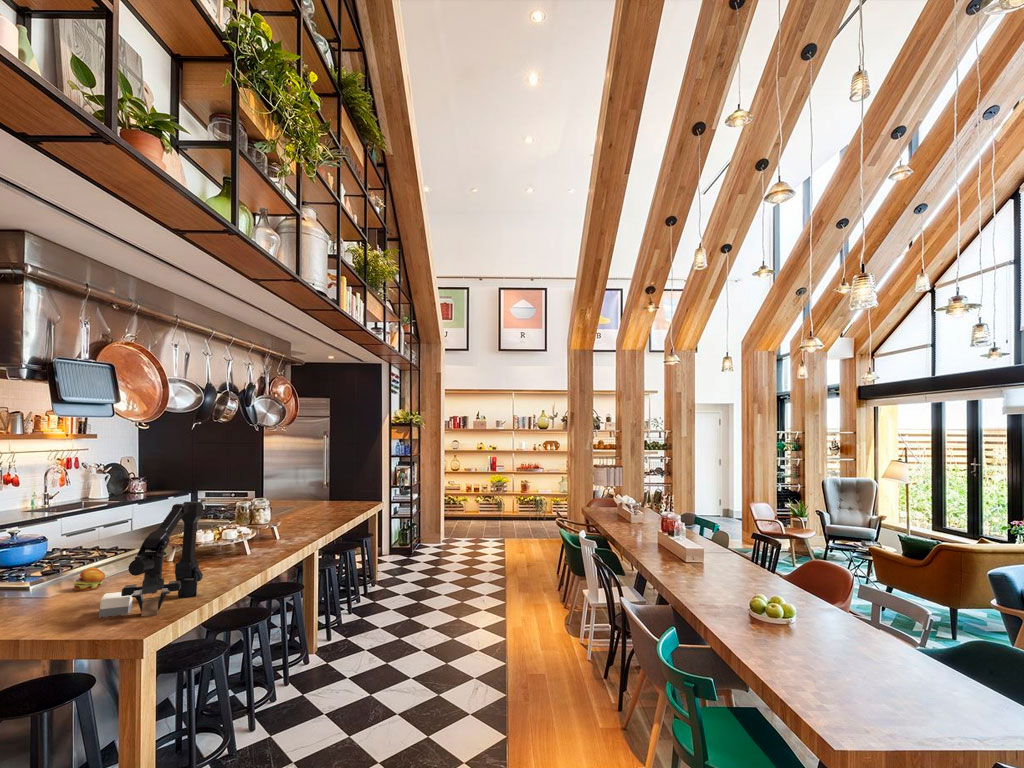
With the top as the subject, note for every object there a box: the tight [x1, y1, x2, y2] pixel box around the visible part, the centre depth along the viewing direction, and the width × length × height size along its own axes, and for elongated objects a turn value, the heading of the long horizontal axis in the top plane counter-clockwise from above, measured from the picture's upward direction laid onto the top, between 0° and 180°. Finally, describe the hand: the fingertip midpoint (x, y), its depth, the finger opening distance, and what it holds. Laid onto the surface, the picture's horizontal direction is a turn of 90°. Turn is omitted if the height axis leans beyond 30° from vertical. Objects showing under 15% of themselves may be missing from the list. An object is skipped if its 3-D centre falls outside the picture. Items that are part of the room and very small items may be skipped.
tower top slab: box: [99, 591, 134, 609], centre depth 211 cm, size 9×9×4 cm
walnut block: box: [141, 597, 160, 617], centre depth 210 cm, size 5×5×5 cm
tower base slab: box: [98, 601, 133, 619], centre depth 210 cm, size 9×9×4 cm
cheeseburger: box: [73, 567, 106, 592], centre depth 243 cm, size 10×11×10 cm
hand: (150, 611), depth 209 cm, fingers closed on walnut block, 5 cm apart
